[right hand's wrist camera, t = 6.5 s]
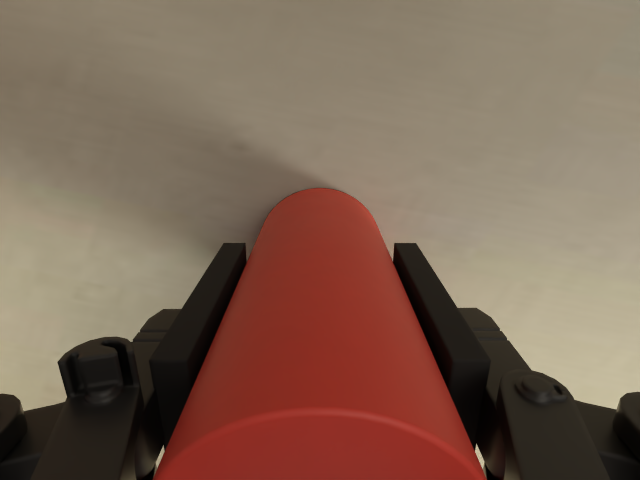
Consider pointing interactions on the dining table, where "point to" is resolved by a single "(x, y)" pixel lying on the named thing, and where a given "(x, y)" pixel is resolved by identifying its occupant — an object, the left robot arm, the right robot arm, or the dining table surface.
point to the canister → (319, 365)
